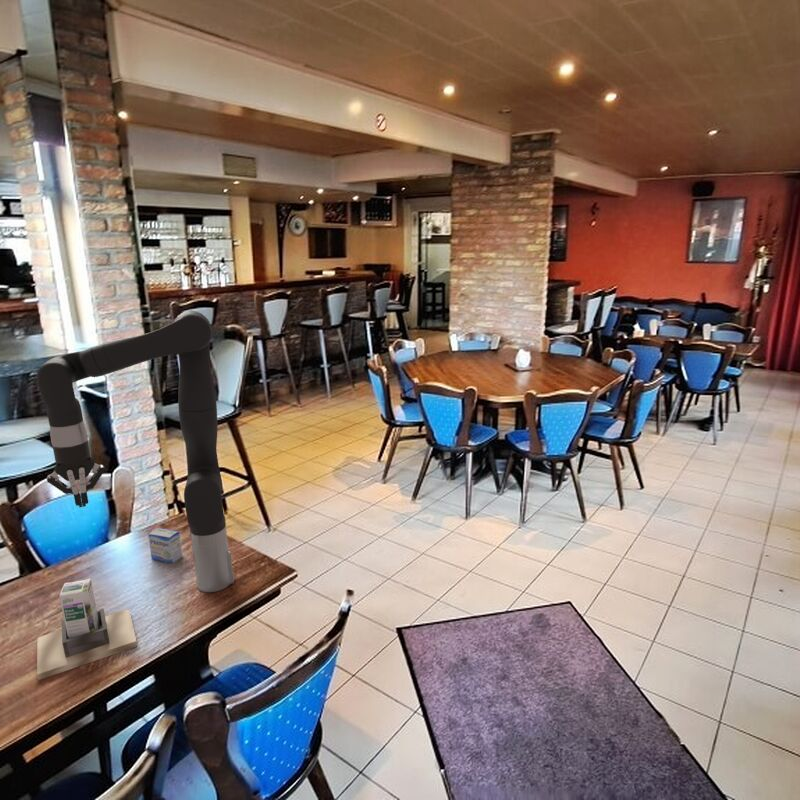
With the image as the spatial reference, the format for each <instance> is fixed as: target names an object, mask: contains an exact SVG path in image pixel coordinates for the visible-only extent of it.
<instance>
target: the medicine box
mask: <svg viewBox="0 0 800 800" xmlns="http://www.w3.org/2000/svg"><path fill="white" fill-rule="evenodd" d="M148 543H149V549H150V557H151V560H152V561H158V562H162V563H163V562H165V563H168V564H169V563H171V564H174V563H175V562H177V561H178V560H179V559H181V558H182V557H183V550H182V541H181V536H180V531H178V530H172V529H167V528H161V527H157V528H155V529H154V530H152V531H151V532H150V533H148Z"/></svg>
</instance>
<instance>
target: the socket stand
mask: <svg viewBox="0 0 800 800" xmlns="http://www.w3.org/2000/svg"><path fill="white" fill-rule="evenodd" d="M97 615H98V620H99V625H100V629H99V630H96V631H92V632H89V633H86V634H83V635H80V636H77V637H74V638H71V639H68V635H67V630H66V625H65V621H64V619H63V620H61V622H60V623H61V630H60V629H59V630H58V631H54V632H51V633H47V634H45V635H41V636H38V637H37V644H36V645H37V646H36V647H37V648H36V649H37V652H36V653H37V656H36V657H37V659H36V676H37V680H38V681H40V680H43V679H47V678H49V677H52V676H55V675H58V674H61V673H65V672H67V671H70V670H72V669H75V668H78V667H81V666H83V665H86V664H91V663H93V662H95V661H98V660H101V659H105V658H107V657H110V656H113V655H115V654H119V653H122V652H124V651H128V650H130V649H133V648H136V647H138V642H137V637H136V633H135V630H134V629H135V628H134V625H133V621H132V617H131V612H130V609H129V608H128V609H125V610H121V611H118V612H116V613H115V612H114V613H112V614H109V615H106V614H105V609H104V608H99V609H97Z"/></svg>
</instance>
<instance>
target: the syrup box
mask: <svg viewBox="0 0 800 800" xmlns="http://www.w3.org/2000/svg"><path fill="white" fill-rule="evenodd" d="M92 584H93V583H92V579H91V577H90V578H86V579H84V580H76V581H71V582H70V581H69V582H64V584H63V585H62V588H61V590H60V593H59V597H58V598H59V602H60V607H61V612H62V616H63V620H64V621H65V625H66V630H67V635H68V639H71V638H74V637H77V636H80V635H83V634H86V633H89V632H92V631H96V630H99V629H100V625H99V620H98V615H97V610H98V609H97V604H96V599H95V594H94V590H93V585H92Z"/></svg>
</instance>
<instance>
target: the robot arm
mask: <svg viewBox="0 0 800 800" xmlns="http://www.w3.org/2000/svg"><path fill="white" fill-rule="evenodd" d="M212 337H213V330H212V325H211V322H210V321H209V319H208V318H207V317H206V315H204V314H203V313H201V312H199V311H196V310H186V311H183V312H181V313H180V314H178V315H177V317H175V319H174V321H172V322H171V323H169V324H167V325H165V326H163V327H161V328H159V329H156V330H153V331H150V332H147V333H142V334H140V335H135V336H131V337H125V338H119V339H115V340H110V341H107V342H104V343H101V344H98V345H97V344H96V345H94V346H92V347H88V348H86V349H83V350H79V351H74V352H70V353H65V354H60V355H58V356H55V357H52V358H49V359H48V360H47V361H45V362H44V363H43V364H42V365H41V366H39V368H38V370H37V373H36V382H37V387H38V390H39V392H40V395H41V399H42V400H43V402H44V406H45V408H46V413H47V414H46V415H47V418H48V424H49V435H50V444H51V446H52V450H53V456H54V461H55V466H54V471H53V472H52V473H50V474H47V476H46V481H47V483H49V484H50V485H51V486H53V487H55V488H56V489H57V490H59V491H61V492H62V493H64V494H65V495H69V494H72V495H73V499H74V504H75V506H76V507H79V508H84V507H87V504H89V497H88V493H87V492H88V491H89V490H92V489H94V488H95V487H96V485H97V483H98V482H99V480H100V478H101V477H102V475H103V474H104V472H105V465H104V464H98V463H95V460H94V459H93V458H92V454H91V449H90V444H89V439H88V437H89V436H88V432H87V428H86V424H85V423H84V422H85V421H84V417H83V416H84V415H83V410H82V407H81V402H80V400H79V399H78V398H77V397H76V394H75V390H74V384H73V383H75V382H78V381H81V380H83V379H88V378H90V377H91V378H99V377H103V376H106V375H108V374H111V373H115V372H119V371H121V370H124V369H127V368H130V367H133V366H135V365H138V364H139V365H140V364H141V363H144V362H148V361H151V360H154V359H159V358H161V357H168V356H171V355H178V360H179V361H178V362H179V375H178V376H179V378H178V393H177V395H178V398H177V399H178V400H177V401H178V415H179V416H178V417H179V424H180V430H181V433H182V437H183V440H184V443H185V446H186V450H187V465H188V466H187V467H188V468H187V478H186V483H185V487H184V492H183V500H184V501H183V502H184V507H185V515H186V522H187V525H188V526H189V532H190V539H191V548H192V556H193V563H194V570H195V578H196V579H195V580H196V585H197V589H198V590H199V591H200V592H204V593H216V592H219V591H222V590H224V589H226V588H227V587H229V586H230V585H231V584H234V583H235V578H234V569H233V561H232V553H231V550H230V549H229V543H228V542H229V541H228V531H227V525H226V524H227V523H226V516H225V514H224V508H223V507H224V506H223V498H222V497H223V495H222V489H223V480H222V475H221V471H220V469H221V468H220V465H219V459H218V452H217V451H218V450H217V442H218V408H217V407H218V406H217V404H218V403H217V398H216V391H215V385H214V380H213V375H212V371H211V363H210V361H211V360H210V358H211V357H210V352H211V350H210V349H211V348H210V347H211V339H212ZM92 470H93V474H92V476H91V477H90V479H89V480H88V482H86V478H87V477H89V476H90V474H91V472H92ZM60 477H61V478H62V479H64V480H65V481H67V482H69V484H70V485H68V484H66V483H64V482H63V481H62V480H60ZM77 481H79V486H78V484H77ZM79 487H80V489H79Z"/></svg>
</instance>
